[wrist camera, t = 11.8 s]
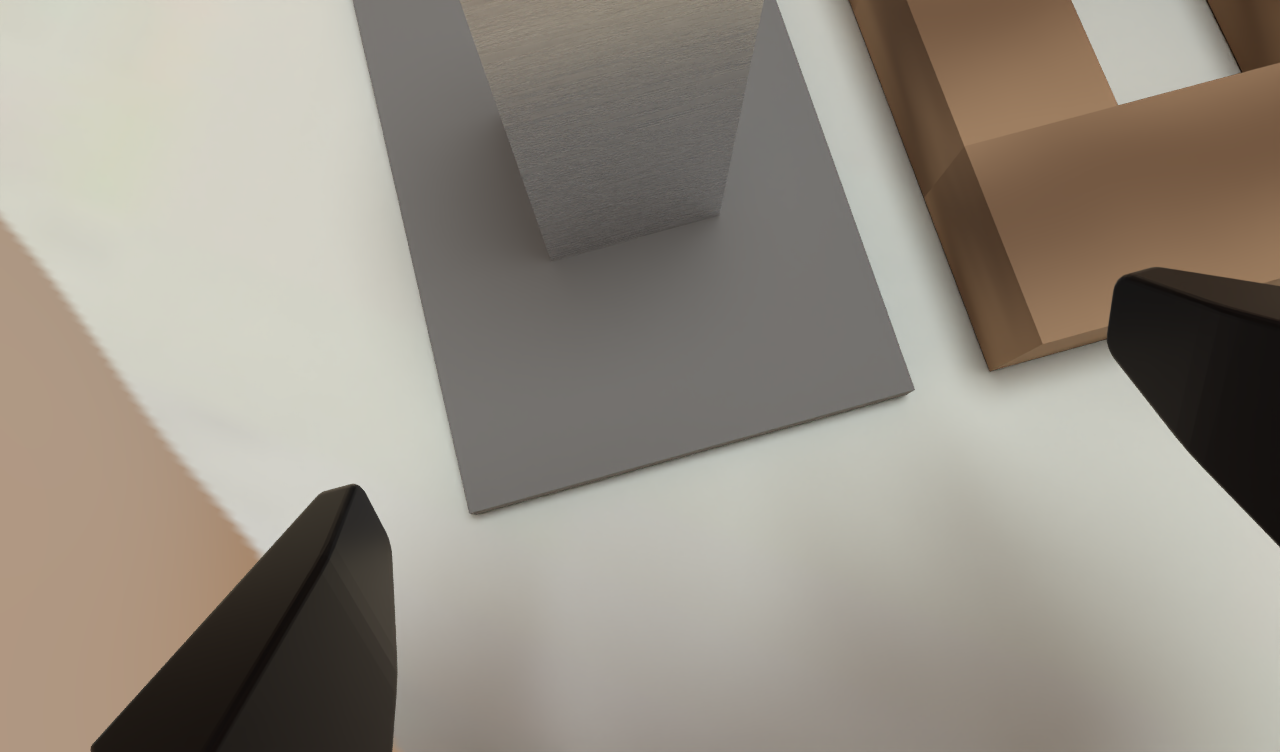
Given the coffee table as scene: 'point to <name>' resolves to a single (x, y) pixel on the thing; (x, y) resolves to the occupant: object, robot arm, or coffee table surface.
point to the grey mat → (621, 280)
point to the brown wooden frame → (1075, 161)
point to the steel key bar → (617, 108)
